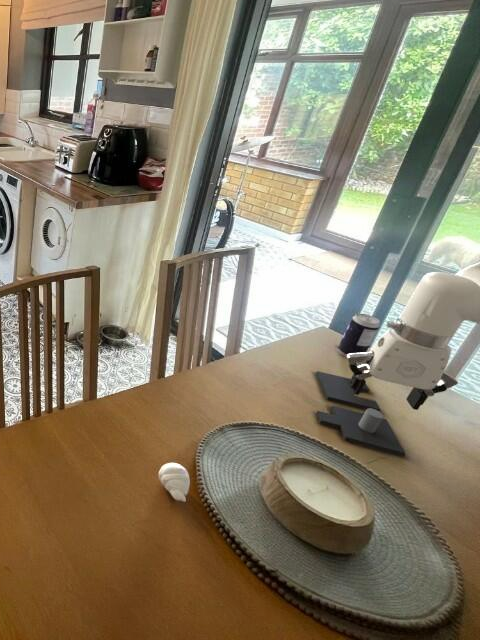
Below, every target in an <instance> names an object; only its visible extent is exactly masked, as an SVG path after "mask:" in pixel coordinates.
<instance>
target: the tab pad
mask: <svg viewBox="0 0 480 640" xmlns="http://www.w3.org/2000/svg"><path fill="white" fill-rule="evenodd" d="M330 410H331V413H330V412H329V413H328V412H326V411H320V410H317V411H316V413H315V415H316V417H317V420H318V423H319V424H320V425H325V426H328V427H331V428H336V429H339V431H340V433H341V435H342V438H343V440H344V441H346V442H350V443H354V444H357V445H360V446H361V445H362V446H364V447H368V448H372V449H375V450H379V451H382V452H386V453H390V454H393V455H397V456H401V457H405V455H406V451H405V449H404V448H403V446H402V445H401V442H400V441H399V439H398V437H397V436H396V433H395V432H394V431H393V428H392V426H391V425H390V423H389V421H388V420H387V418H384V414H383V413H382V412H381V411H380V412H379V411H377V410H375V409H371V408H368V409H365V411H364V412H361V411H356V410H352V409H350V408H349V409H348V408H344V407H340V406H336V405H333V404H332V405H331V406H330Z"/></svg>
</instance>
